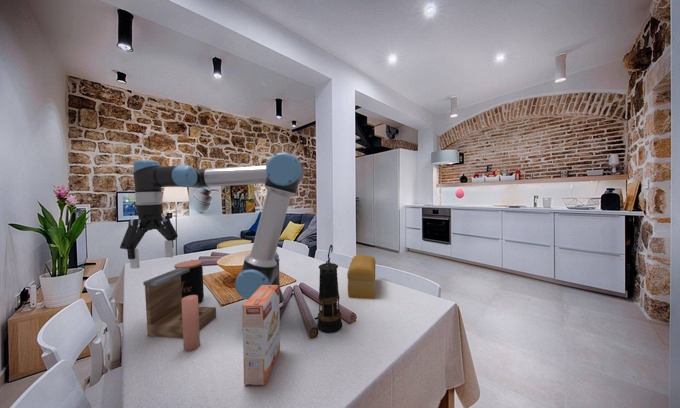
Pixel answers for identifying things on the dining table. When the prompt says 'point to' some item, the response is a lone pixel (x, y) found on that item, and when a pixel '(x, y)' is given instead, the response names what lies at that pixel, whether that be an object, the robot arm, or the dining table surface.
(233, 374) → the dining table surface
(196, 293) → the coffee jar
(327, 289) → the lantern
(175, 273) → the station
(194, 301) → the peg
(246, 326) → the cracker box
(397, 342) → the dining table surface
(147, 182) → the robot arm
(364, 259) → the bread
